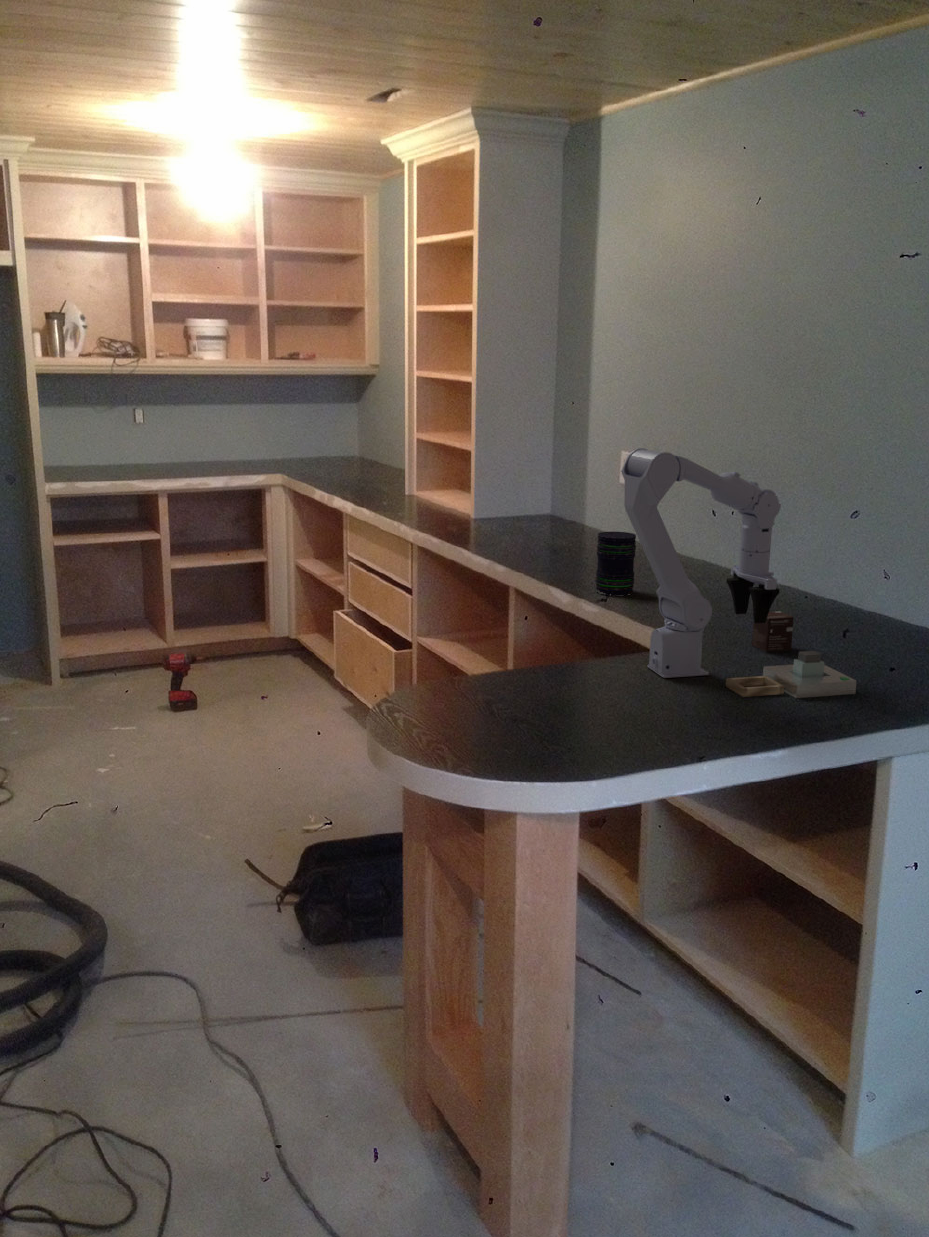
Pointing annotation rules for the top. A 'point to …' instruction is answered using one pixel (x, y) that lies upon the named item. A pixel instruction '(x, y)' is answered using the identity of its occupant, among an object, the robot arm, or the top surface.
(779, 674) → the port
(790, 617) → the box
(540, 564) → the top surface
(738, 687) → the tan square frame
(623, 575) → the storage jar
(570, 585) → the top surface
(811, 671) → the plug
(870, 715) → the top surface
